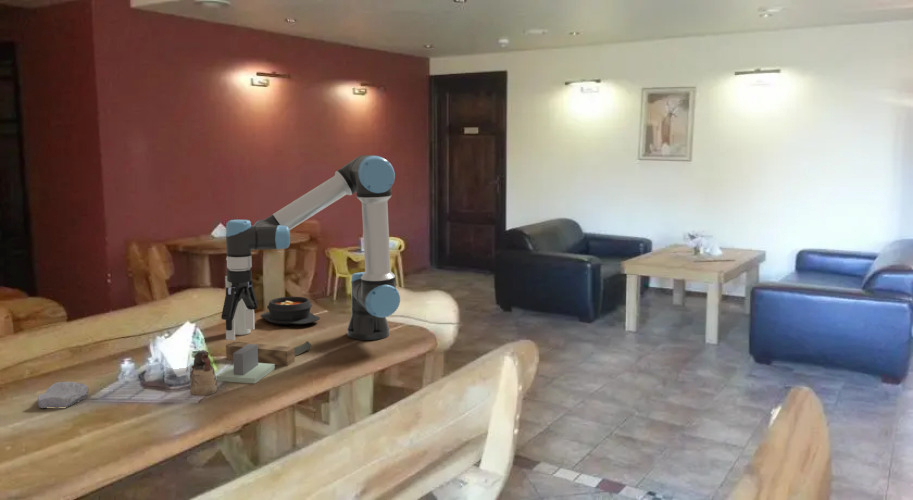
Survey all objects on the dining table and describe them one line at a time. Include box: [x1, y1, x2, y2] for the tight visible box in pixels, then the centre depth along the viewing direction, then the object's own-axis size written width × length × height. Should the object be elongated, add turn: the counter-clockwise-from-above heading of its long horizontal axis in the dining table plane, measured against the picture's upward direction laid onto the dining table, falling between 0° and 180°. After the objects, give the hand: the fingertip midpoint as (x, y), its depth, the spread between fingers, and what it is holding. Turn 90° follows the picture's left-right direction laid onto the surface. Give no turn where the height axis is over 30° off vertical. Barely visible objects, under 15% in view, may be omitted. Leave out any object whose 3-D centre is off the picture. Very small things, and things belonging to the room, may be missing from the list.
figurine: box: [189, 349, 218, 396], centre depth 208 cm, size 7×7×12 cm
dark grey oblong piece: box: [293, 341, 312, 357], centre depth 244 cm, size 13×5×4 cm, turn 134°
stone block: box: [37, 381, 90, 409], centre depth 200 cm, size 12×5×10 cm
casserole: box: [260, 296, 321, 326], centre depth 285 cm, size 25×19×8 cm
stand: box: [215, 343, 276, 384], centre depth 223 cm, size 12×14×8 cm
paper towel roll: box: [224, 275, 252, 336], centre depth 267 cm, size 7×6×21 cm
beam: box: [225, 340, 296, 367], centre depth 237 cm, size 22×4×5 cm, turn 73°
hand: (240, 334), depth 237 cm, fingers open, 13 cm apart
